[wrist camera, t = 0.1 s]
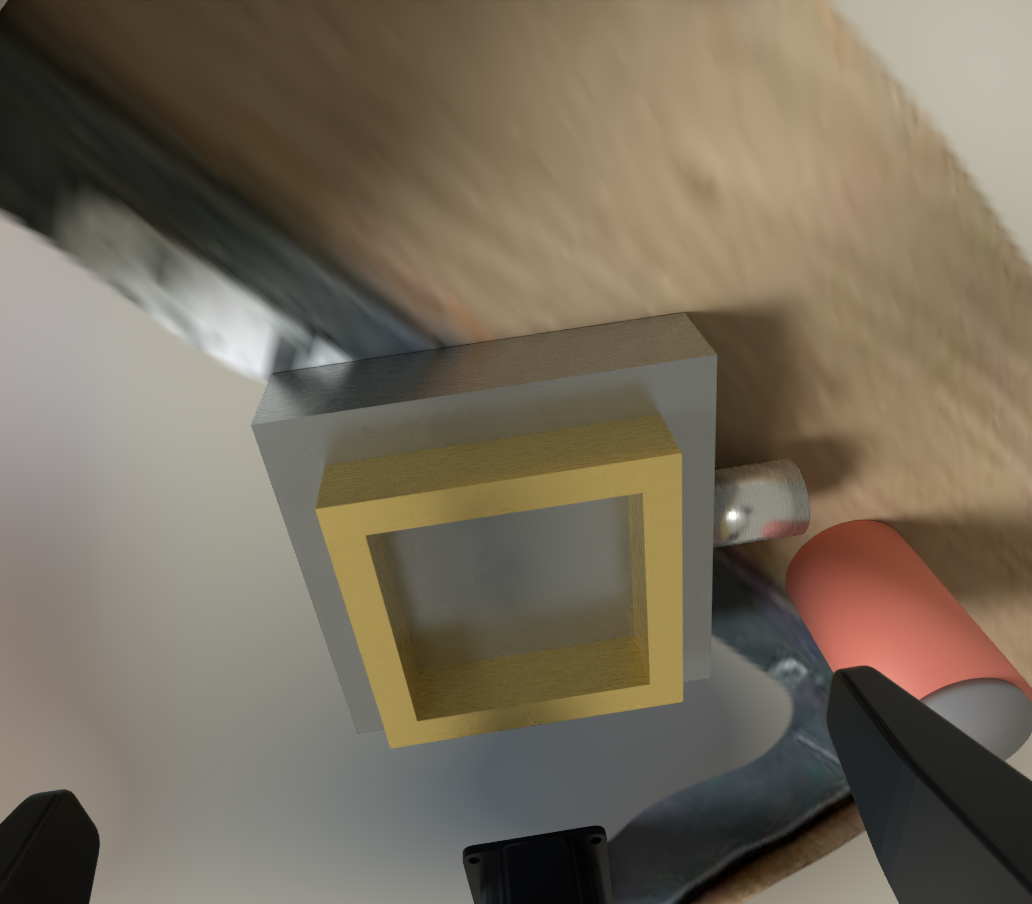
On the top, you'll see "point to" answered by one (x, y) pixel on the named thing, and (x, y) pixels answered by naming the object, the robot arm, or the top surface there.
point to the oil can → (907, 631)
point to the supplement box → (2, 3)
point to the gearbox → (515, 523)
